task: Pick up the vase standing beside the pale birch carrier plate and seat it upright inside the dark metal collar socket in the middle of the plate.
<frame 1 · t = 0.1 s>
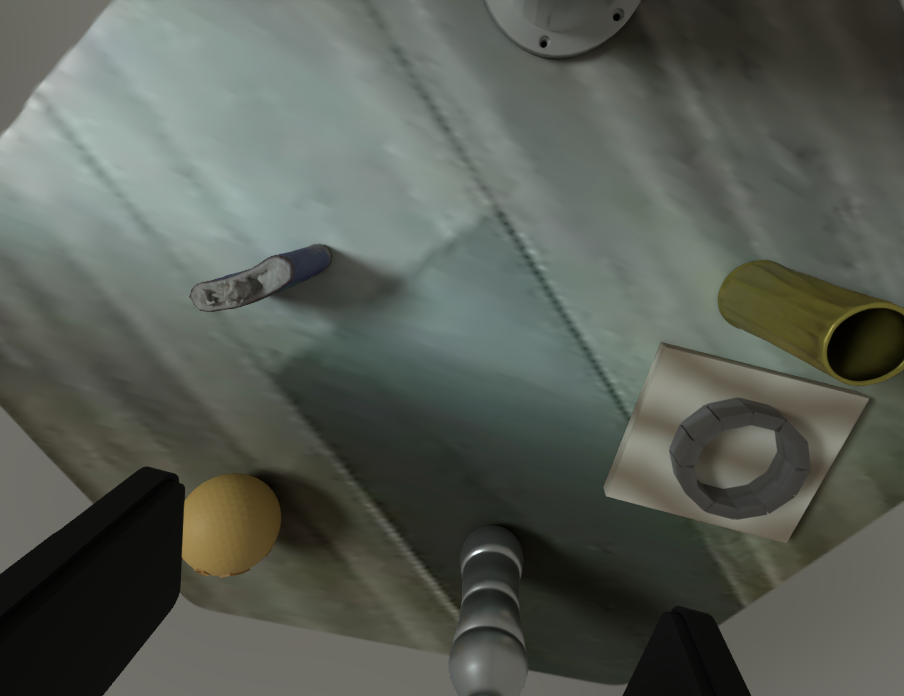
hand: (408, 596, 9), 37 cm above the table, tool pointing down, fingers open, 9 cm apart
vase: (753, 294, 42), on the table
carrier plate: (722, 442, 46), on the table
flask: (290, 269, 46), on the table
stress ball: (254, 492, 55), on the table
plastic bottle: (492, 540, 53), on the table
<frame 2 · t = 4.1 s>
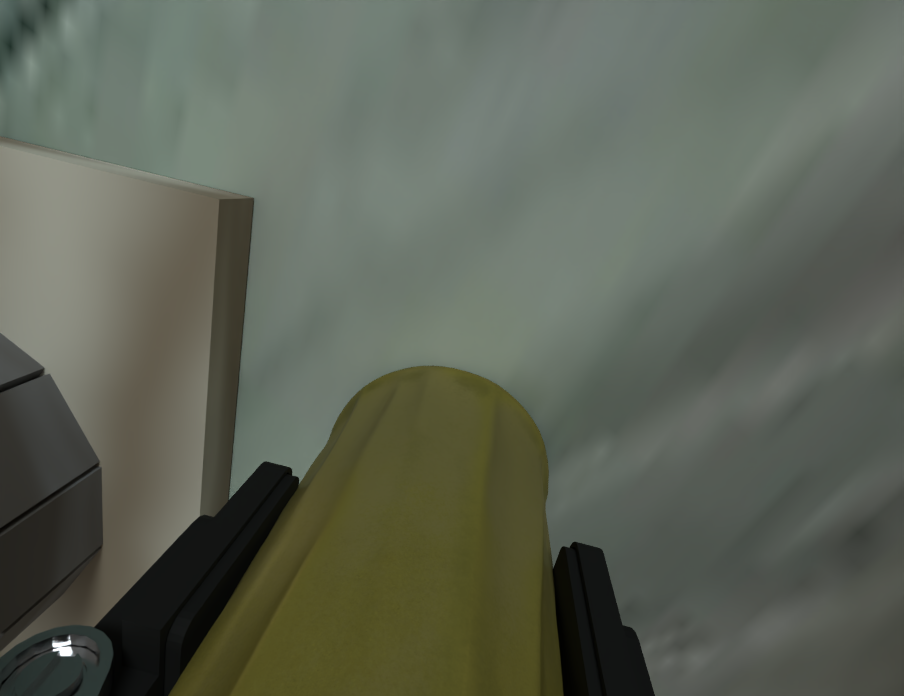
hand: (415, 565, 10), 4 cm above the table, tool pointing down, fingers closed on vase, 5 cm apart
vase: (437, 461, 14), on the table, touching gripper
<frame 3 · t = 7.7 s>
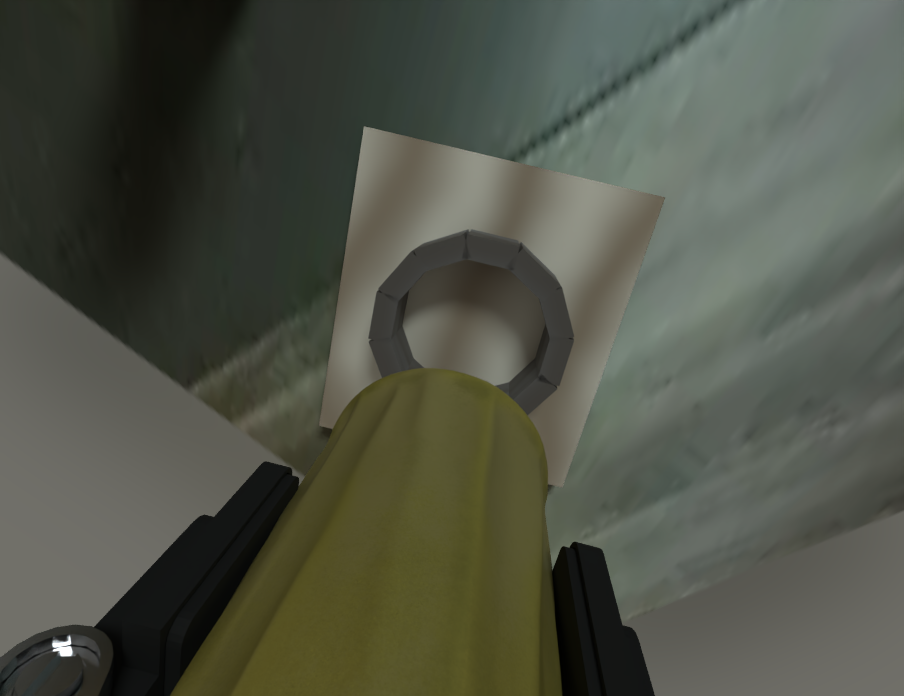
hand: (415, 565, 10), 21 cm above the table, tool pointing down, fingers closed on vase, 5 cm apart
vase: (437, 463, 14), point 17 cm above the table, touching gripper
carrier plate: (474, 317, 29), on the table
when the fingers open (6 cm above the table, at t = 11.3 s): vase stays where it is, resting on carrier plate.
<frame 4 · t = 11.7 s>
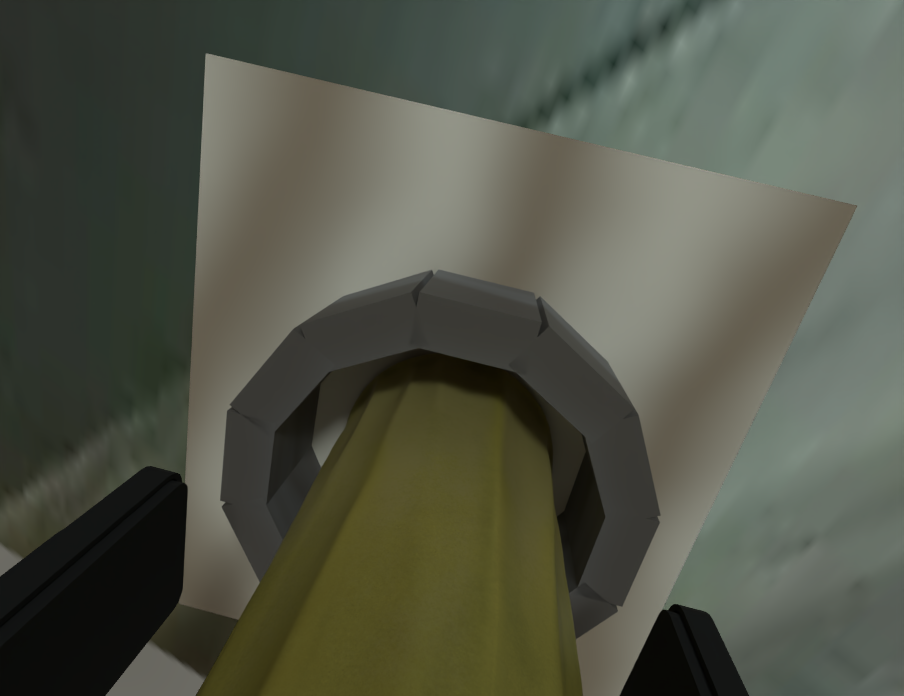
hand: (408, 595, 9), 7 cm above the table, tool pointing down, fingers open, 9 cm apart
vase: (448, 444, 15), point 1 cm above the table, touching carrier plate
carrier plate: (449, 425, 16), on the table
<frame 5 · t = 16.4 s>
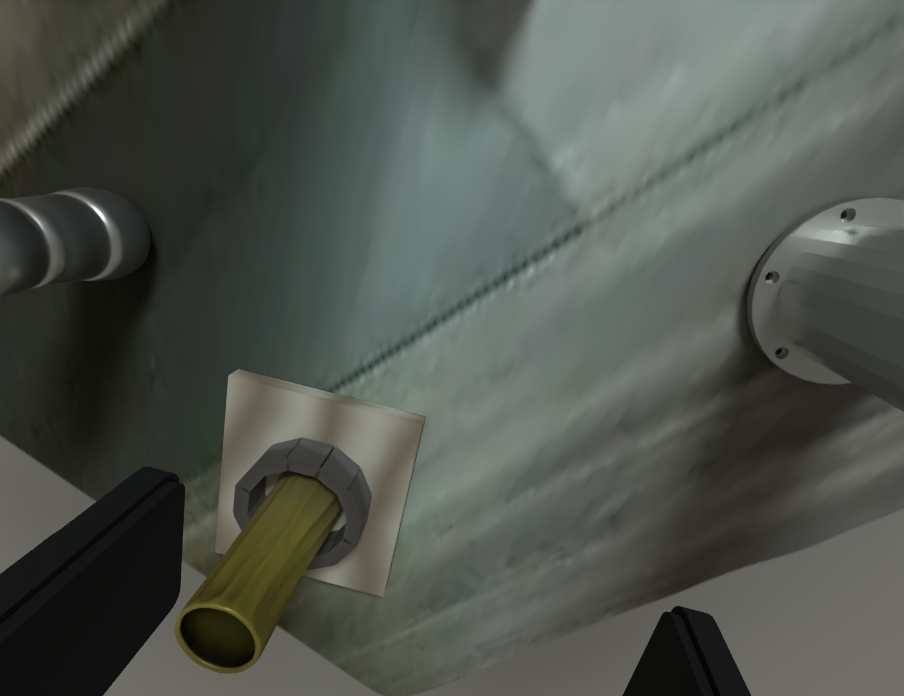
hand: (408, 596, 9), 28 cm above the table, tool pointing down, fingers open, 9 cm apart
vase: (312, 491, 42), point 1 cm above the table, touching carrier plate
carrier plate: (317, 483, 43), on the table
plastic bottle: (125, 231, 38), on the table
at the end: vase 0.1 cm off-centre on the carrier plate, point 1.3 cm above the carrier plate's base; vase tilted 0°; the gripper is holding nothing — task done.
